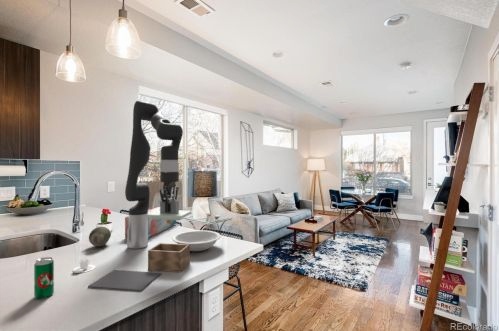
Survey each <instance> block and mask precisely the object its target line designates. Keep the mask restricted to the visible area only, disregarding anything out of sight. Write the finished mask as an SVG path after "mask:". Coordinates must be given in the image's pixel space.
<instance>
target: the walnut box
mask: <svg viewBox="0 0 499 331" xmlns="http://www.w3.org/2000/svg"><path fill="white" fill-rule="evenodd" d="M190 253H191V251H190V245H189V244H177V243H167V242H165V243H163V242H159V243H158V244H156V245H155V246H153V247H150V248H149V249H148V250H147V270H148V271H155V272H156V271H158V272H170V273H171V272H173V273H182V271H183V270H185V268H186V267H187V266H188V265H190V262H191V261H190V260H191V258H190V257H191V254H190Z"/></svg>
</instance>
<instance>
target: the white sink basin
mask: <svg viewBox="0 0 499 331" xmlns="http://www.w3.org/2000/svg"><path fill="white" fill-rule="evenodd" d="M220 238H221V234H220V233H219V232H216V231H212V230H203V229H201V230H189V231H183V232H179V233H177V234H175V235H173V237H172V242H175V244H189V245H190V252H202V251H206V250H208V249H209V250H210V248H212V247H213V246H214V245H216V243H217V241H218V240H220Z"/></svg>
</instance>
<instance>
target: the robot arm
mask: <svg viewBox="0 0 499 331" xmlns="http://www.w3.org/2000/svg"><path fill="white" fill-rule="evenodd" d="M142 121H147V122H150V125H151V126H152V128H153V129H154V130H155V131H156V136H157V138H158V139H160V140H162V141H171V144H167V145H163V146H162V147H161V149H160V165H159V166H160V168H159V170H160V172H159V174H160V183H163V185H162V189H159V194H160V195H159V196H160V199H161V201H162V202H164V203H165V212H168V213H169V212H170V210H171V203H170V202H171V201H178V200H177V199H178V194H179V188H180V187H179V186H177V185H176V183H178V182H179V181H180V166H179V165H180V164H179V163H180V162H179V149H180V146H181V141H182V138H183V136H184V135H183V133H184V130H183V128H182V125H180V124H177V123H171V121H170V120H169V119H168V118H166V117H165V116H164V115H163V113H162V112H161V110H160V108H159V107H158V106H157V104H155V103H152V102H147V101H142V100H136V101H135V102H134V104H133V113H132V137H131V144H130V153H129V154H130V155H129V164H128V165H129V166H128V173H127V179H126V184H125V191H124V195H125V199H126V200H127V201H128V202H137V203H136V204H135V205H133V206H132V207H130V208H129V209H128V216H129V228H128V229H127V238H126V247H127V248H129V249H131V250H134V249H136V250H137V249H143V248H146V247H148V246H149V238H148V218H146V215H147V214H148V210H149V207H150V195H151V194H150V193H151V192H150V186H149V185H148V184H147V183H145V182H140V183H139V182H138V180H139V176H140V174H141V172H142V171H143V170H144V168H145V167H146V166H147V164H148V162H149V160H150V157H151V156H150V155H151V144H150V143H149V140H148V139H147V137H146V135H145V133H144V131H143V126H142Z"/></svg>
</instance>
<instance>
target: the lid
mask: <svg viewBox="0 0 499 331" xmlns="http://www.w3.org/2000/svg"><path fill="white" fill-rule="evenodd" d="M170 203H171V210H170V212H169V213H168V212H165V203H164V202H162V200H161V201H159V204H160V205H159V207H160V210H158V211H155V212H152V213H150V214H147V215H146V218H152V219H154V220H176V221H181V220H183V219H184V218H186V217H188V216H190V215H191V214H192V210H180V200H175V201H171V202H170Z"/></svg>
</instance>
